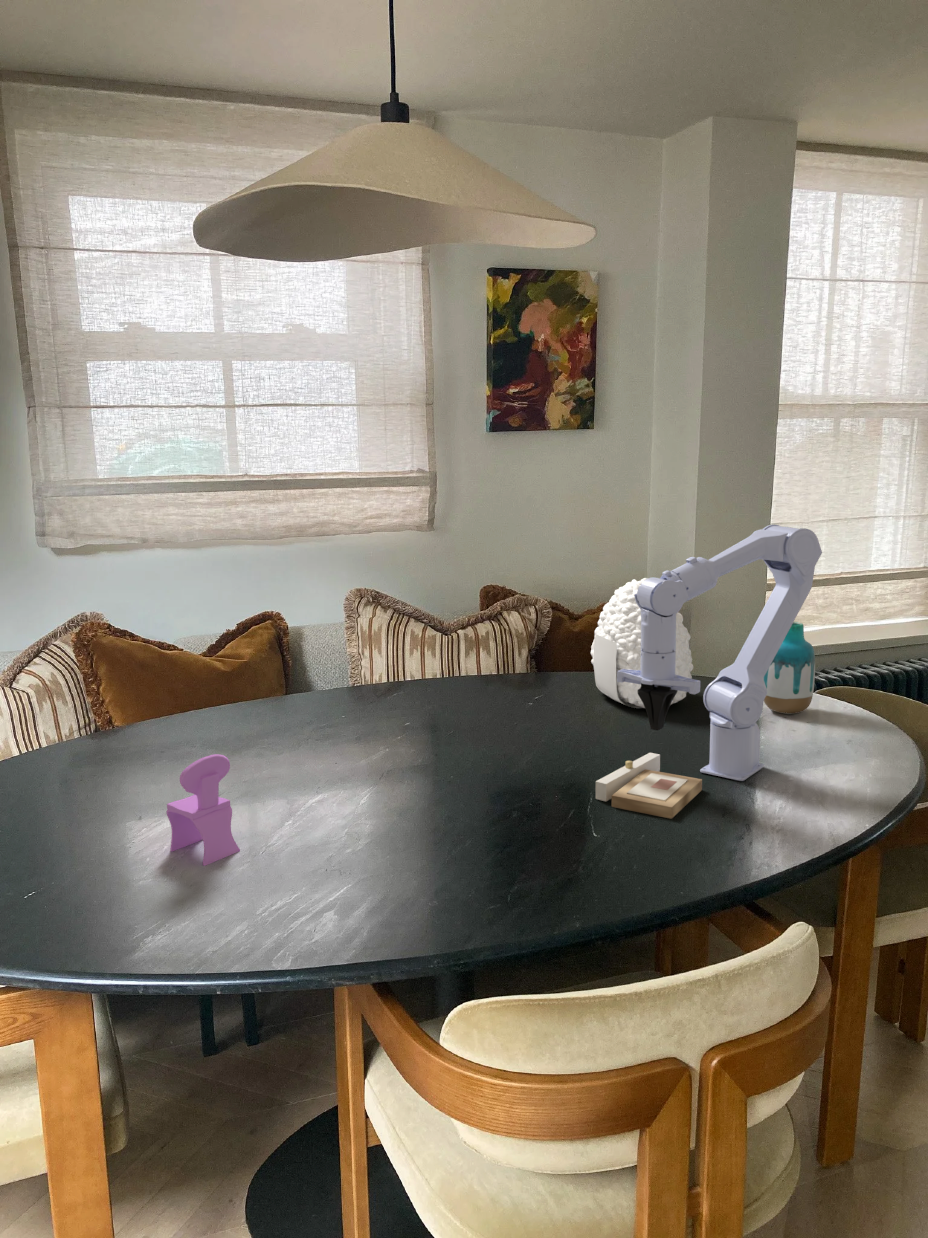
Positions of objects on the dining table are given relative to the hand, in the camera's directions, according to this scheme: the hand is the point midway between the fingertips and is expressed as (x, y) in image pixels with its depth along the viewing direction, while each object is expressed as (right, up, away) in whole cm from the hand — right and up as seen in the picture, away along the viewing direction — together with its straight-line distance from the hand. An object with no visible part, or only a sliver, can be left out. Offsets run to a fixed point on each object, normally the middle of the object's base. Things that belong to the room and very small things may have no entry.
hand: (657, 728), depth 160 cm
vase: (+36, -1, +40) cm, 54 cm away
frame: (-1, -11, -6) cm, 13 cm away
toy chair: (-71, -16, -22) cm, 76 cm away
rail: (-5, -10, +1) cm, 11 cm away
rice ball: (+7, 0, +53) cm, 53 cm away
